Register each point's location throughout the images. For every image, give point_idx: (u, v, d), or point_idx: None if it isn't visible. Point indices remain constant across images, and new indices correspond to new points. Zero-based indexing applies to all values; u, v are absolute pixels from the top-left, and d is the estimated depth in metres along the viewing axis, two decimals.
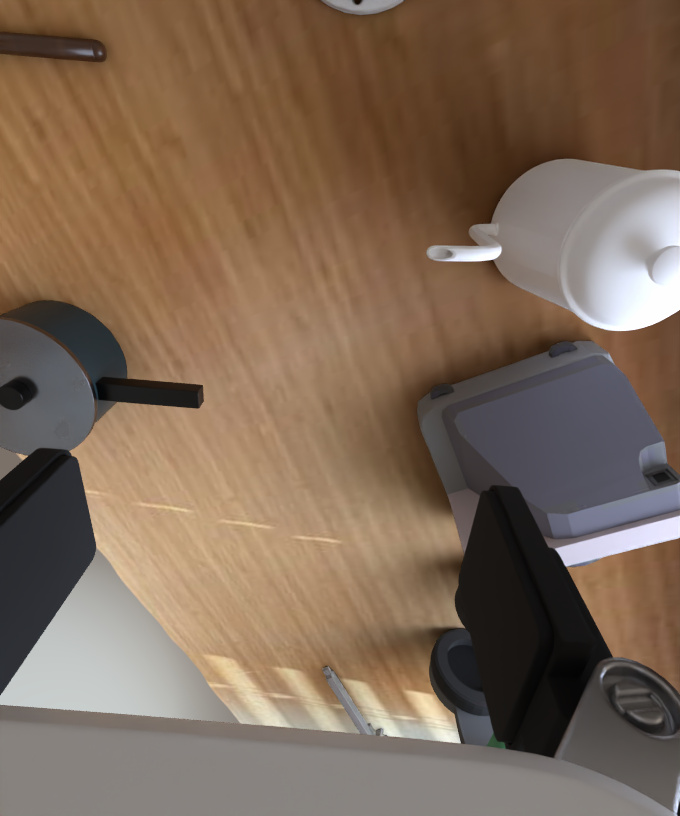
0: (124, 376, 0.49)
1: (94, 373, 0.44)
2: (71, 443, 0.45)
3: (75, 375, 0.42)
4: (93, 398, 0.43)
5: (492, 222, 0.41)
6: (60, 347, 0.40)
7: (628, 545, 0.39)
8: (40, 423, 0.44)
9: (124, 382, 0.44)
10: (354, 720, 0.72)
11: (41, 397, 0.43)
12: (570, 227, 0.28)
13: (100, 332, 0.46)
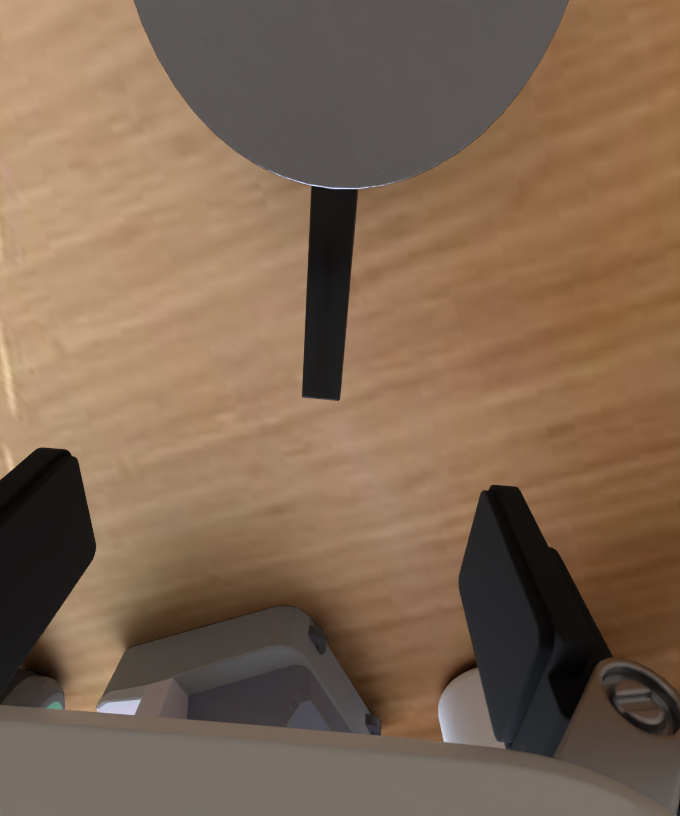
0: None
1: None
2: (187, 77, 0.15)
3: (399, 153, 0.16)
4: (333, 188, 0.17)
5: None
6: (477, 132, 0.16)
7: None
8: None
9: (353, 241, 0.20)
10: None
11: (334, 19, 0.15)
12: None
13: None
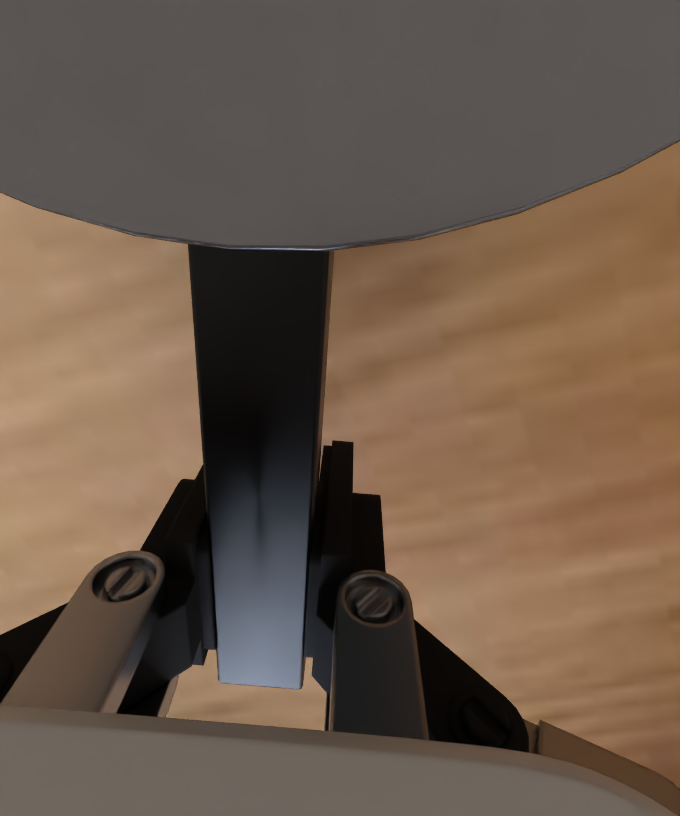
0: None
1: None
2: None
3: (495, 113, 0.04)
4: (233, 246, 0.04)
5: None
6: None
7: None
8: None
9: (324, 367, 0.07)
10: None
11: None
12: None
13: None
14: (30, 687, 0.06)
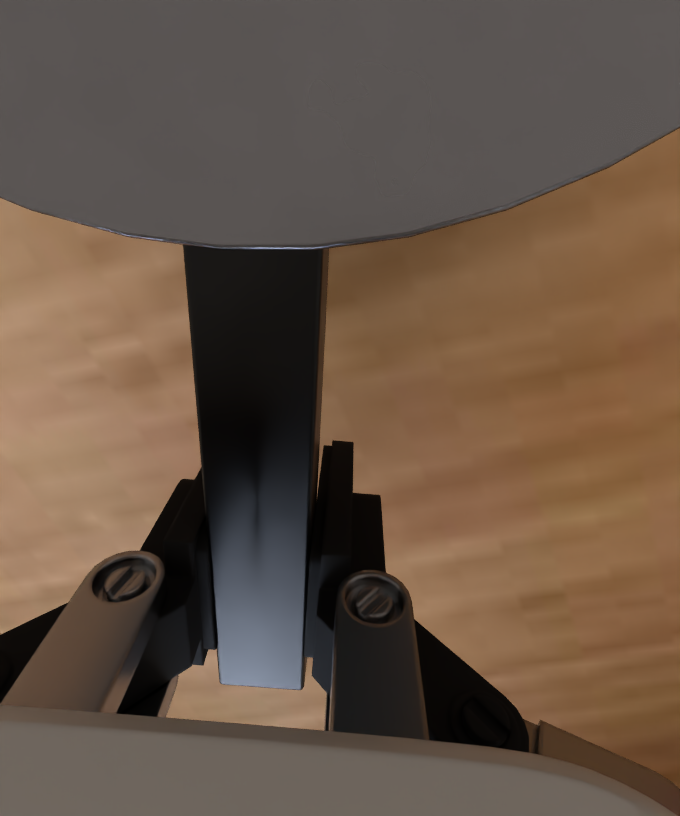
0: None
1: None
2: None
3: (481, 111, 0.04)
4: (226, 246, 0.05)
5: None
6: None
7: None
8: None
9: (320, 366, 0.07)
10: None
11: None
12: None
13: None
14: (30, 687, 0.06)
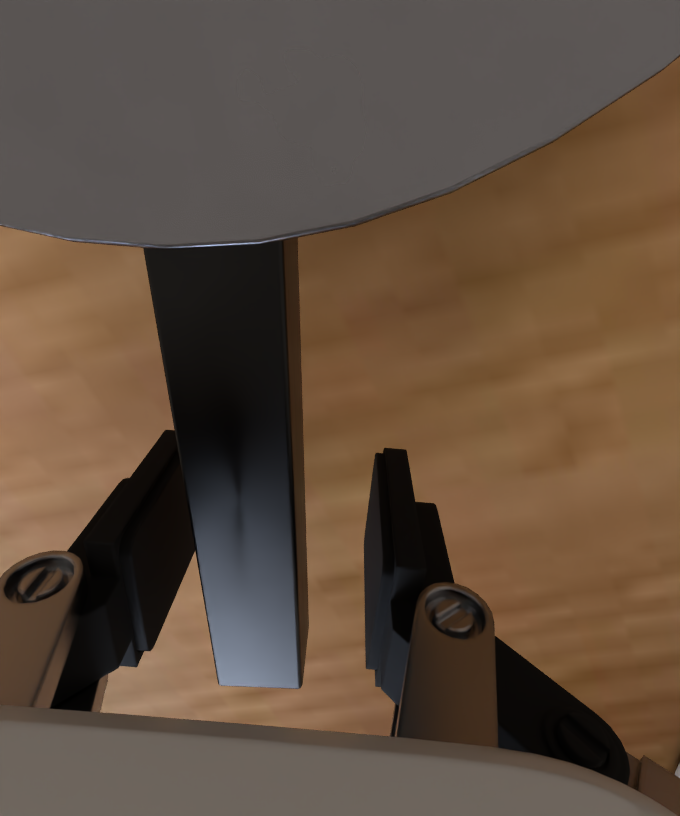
0: None
1: None
2: None
3: (416, 90, 0.04)
4: (172, 245, 0.04)
5: None
6: None
7: None
8: None
9: (294, 363, 0.07)
10: None
11: None
12: None
13: None
14: None
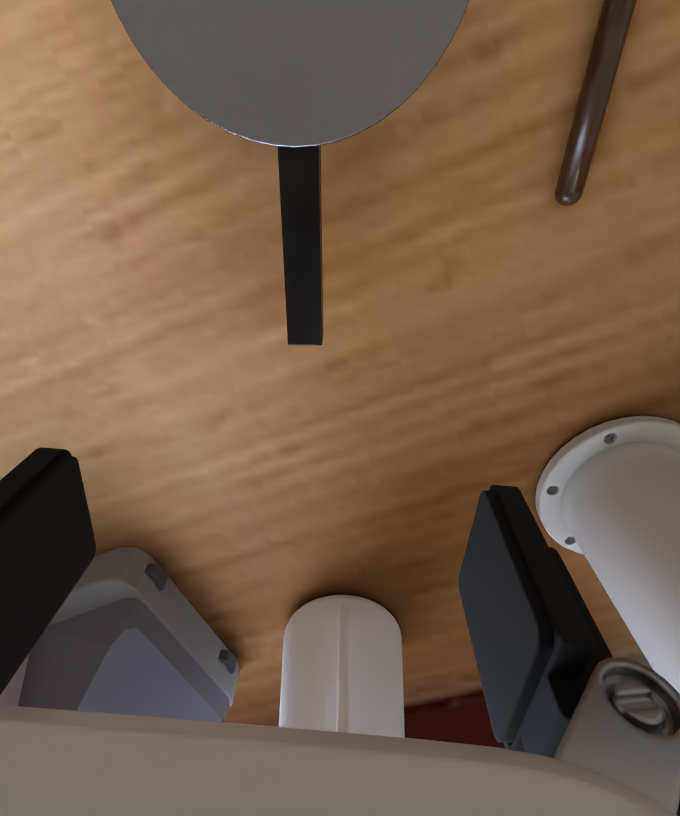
0: None
1: None
2: (159, 58, 0.18)
3: (350, 110, 0.19)
4: (295, 146, 0.19)
5: (348, 602, 0.41)
6: (415, 85, 0.18)
7: None
8: None
9: (320, 196, 0.22)
10: None
11: None
12: None
13: None
14: None
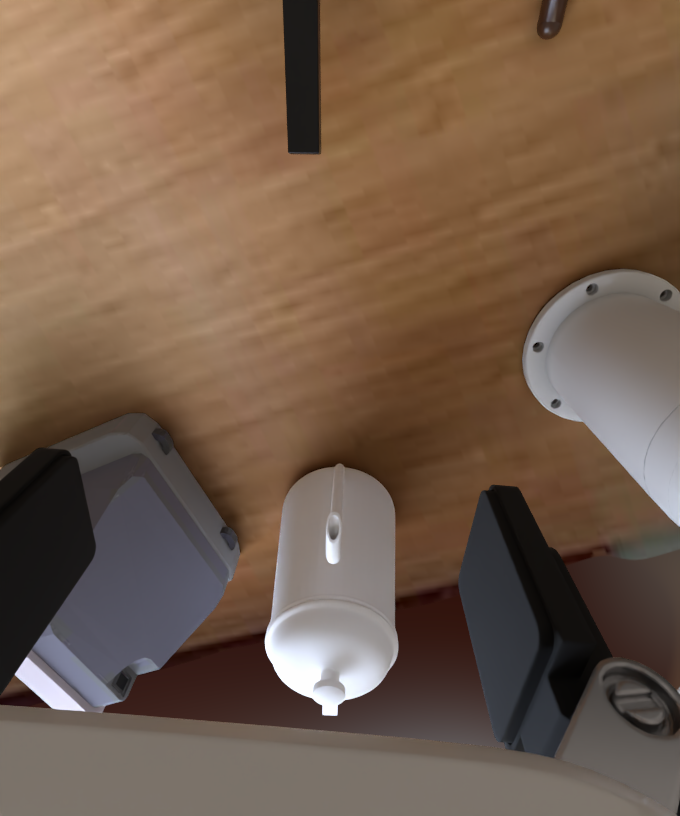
0: None
1: None
2: None
3: None
4: None
5: (344, 470, 0.43)
6: None
7: (35, 685, 0.36)
8: None
9: None
10: None
11: None
12: (354, 601, 0.31)
13: None
14: None
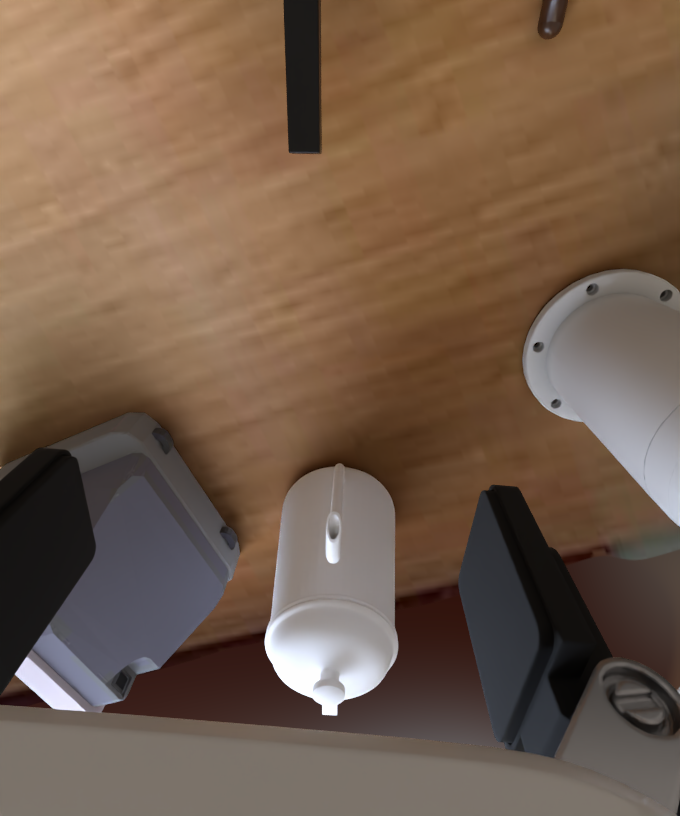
0: None
1: None
2: None
3: None
4: None
5: (344, 470, 0.43)
6: None
7: (34, 684, 0.36)
8: None
9: None
10: None
11: None
12: (354, 601, 0.31)
13: None
14: None
